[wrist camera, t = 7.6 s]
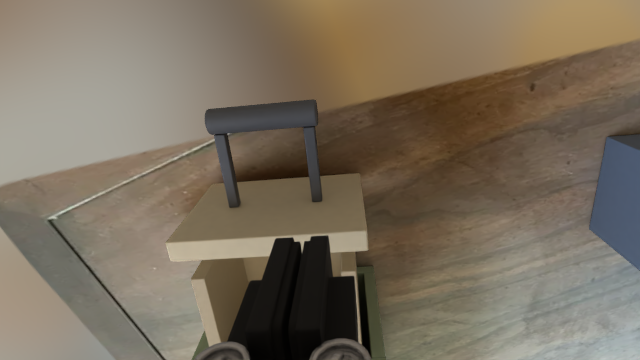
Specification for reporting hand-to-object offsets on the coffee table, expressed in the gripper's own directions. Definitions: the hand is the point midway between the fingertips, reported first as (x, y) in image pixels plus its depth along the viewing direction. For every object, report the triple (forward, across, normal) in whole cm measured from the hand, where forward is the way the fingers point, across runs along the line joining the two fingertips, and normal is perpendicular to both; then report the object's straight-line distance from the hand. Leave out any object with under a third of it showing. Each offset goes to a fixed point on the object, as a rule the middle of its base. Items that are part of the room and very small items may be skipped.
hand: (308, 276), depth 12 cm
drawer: (+14, +3, +6) cm, 16 cm away
